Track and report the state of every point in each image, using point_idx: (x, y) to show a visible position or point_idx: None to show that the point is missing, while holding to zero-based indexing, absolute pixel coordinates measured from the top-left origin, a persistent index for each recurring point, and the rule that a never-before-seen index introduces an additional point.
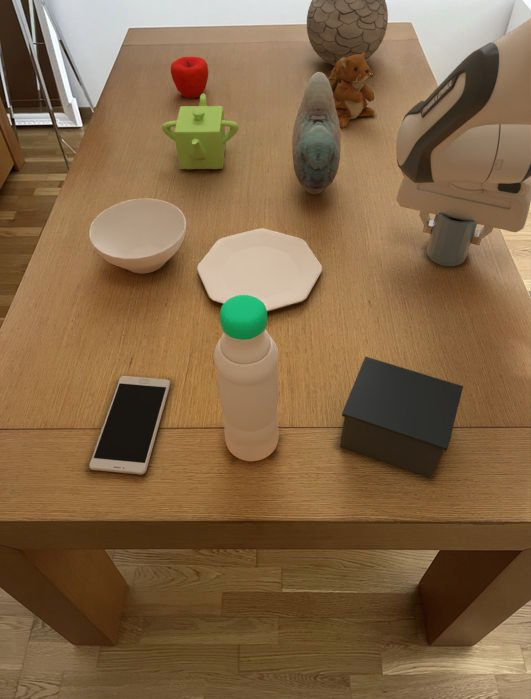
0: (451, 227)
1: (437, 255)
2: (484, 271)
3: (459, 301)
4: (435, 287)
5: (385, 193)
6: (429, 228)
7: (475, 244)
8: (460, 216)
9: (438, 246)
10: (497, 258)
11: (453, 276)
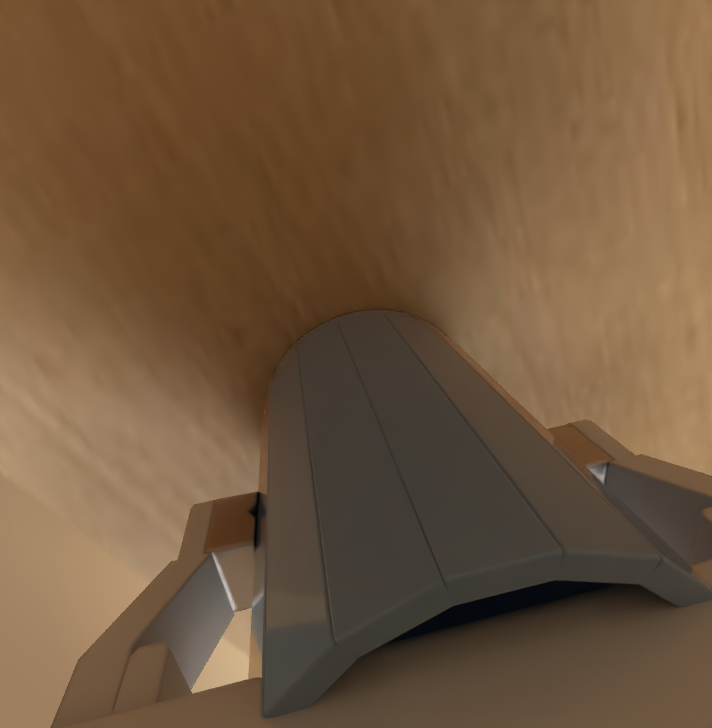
0: (483, 488)
1: (413, 329)
2: (128, 391)
3: (106, 3)
4: (320, 78)
5: None
6: (575, 451)
7: (222, 499)
8: (467, 687)
9: (447, 356)
10: (126, 511)
11: (262, 254)
